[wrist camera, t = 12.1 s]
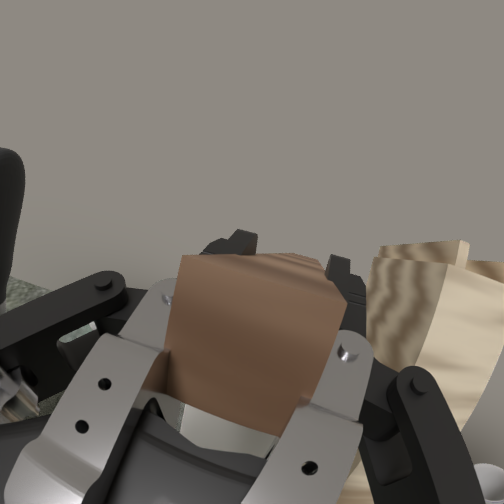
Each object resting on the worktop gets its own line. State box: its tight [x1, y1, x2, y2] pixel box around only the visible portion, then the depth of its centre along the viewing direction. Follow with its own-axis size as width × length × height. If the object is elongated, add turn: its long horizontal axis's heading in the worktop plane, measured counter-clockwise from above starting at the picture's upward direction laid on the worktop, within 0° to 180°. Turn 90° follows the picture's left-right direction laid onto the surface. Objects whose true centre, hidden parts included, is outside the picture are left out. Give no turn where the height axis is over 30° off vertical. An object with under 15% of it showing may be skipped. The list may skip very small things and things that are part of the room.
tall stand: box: [336, 240, 504, 504], centre depth 22 cm, size 20×7×34 cm, turn 167°
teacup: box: [474, 463, 504, 504], centre depth 13 cm, size 14×11×8 cm
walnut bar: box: [164, 253, 348, 437], centre depth 18 cm, size 28×3×3 cm, turn 167°
